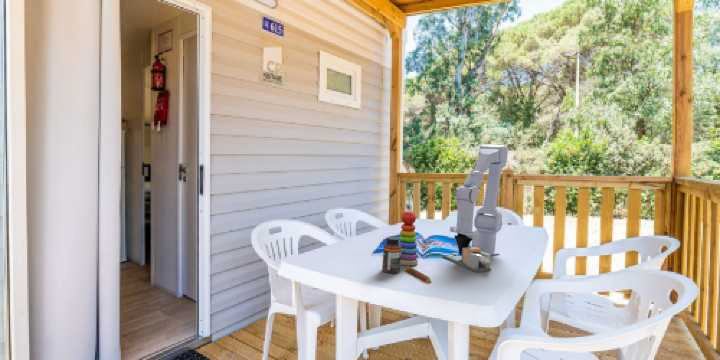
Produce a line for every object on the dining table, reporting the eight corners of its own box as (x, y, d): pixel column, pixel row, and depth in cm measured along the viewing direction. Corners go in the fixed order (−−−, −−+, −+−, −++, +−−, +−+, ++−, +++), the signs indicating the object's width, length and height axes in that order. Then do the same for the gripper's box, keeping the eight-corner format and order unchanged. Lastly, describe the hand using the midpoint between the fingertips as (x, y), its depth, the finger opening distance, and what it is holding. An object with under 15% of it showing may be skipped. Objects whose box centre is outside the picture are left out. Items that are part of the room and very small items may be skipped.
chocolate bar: (425, 284, 120) (425, 277, 120) (403, 272, 131) (404, 266, 131) (432, 283, 121) (432, 276, 121) (410, 271, 132) (410, 265, 132)
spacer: (479, 263, 141) (480, 248, 140) (467, 264, 139) (468, 249, 138) (475, 261, 143) (476, 246, 143) (462, 262, 141) (464, 247, 141)
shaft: (457, 259, 144) (458, 246, 143) (469, 258, 146) (470, 245, 145) (480, 269, 132) (482, 255, 132) (493, 268, 134) (494, 254, 134)
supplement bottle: (380, 268, 133) (382, 235, 132) (398, 268, 133) (400, 235, 133) (383, 273, 127) (385, 239, 126) (401, 274, 128) (403, 240, 127)
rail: (442, 257, 151) (443, 243, 150) (457, 255, 154) (458, 242, 153) (474, 272, 134) (475, 256, 134) (490, 270, 137) (492, 255, 136)
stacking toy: (419, 261, 143) (423, 210, 142) (415, 267, 136) (418, 214, 134) (398, 258, 146) (401, 208, 144) (393, 264, 138) (396, 211, 137)
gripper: (444, 215, 150) (441, 250, 151) (468, 222, 136) (465, 261, 137) (459, 215, 152) (456, 249, 154) (484, 222, 139) (481, 259, 140)
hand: (462, 254), depth 146 cm, fingers closed
